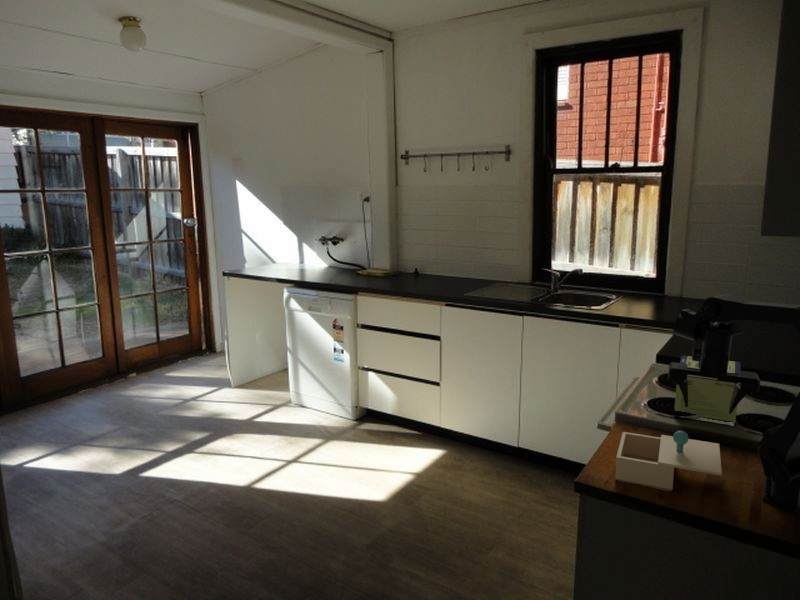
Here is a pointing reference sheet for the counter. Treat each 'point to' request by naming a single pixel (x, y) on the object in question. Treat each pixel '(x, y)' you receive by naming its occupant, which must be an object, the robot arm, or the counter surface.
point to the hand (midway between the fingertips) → (707, 409)
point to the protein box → (708, 394)
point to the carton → (642, 462)
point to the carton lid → (689, 454)
